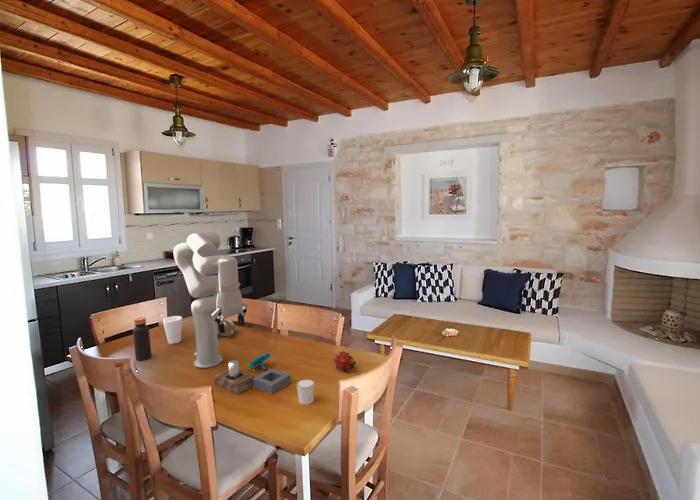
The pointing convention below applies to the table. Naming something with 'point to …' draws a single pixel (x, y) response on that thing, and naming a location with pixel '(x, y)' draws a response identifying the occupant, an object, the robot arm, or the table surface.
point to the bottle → (141, 339)
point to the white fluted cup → (306, 391)
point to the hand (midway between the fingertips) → (231, 329)
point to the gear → (259, 362)
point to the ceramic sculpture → (227, 328)
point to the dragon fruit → (344, 361)
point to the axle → (233, 369)
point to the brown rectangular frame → (234, 381)
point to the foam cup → (173, 328)
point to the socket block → (278, 381)
